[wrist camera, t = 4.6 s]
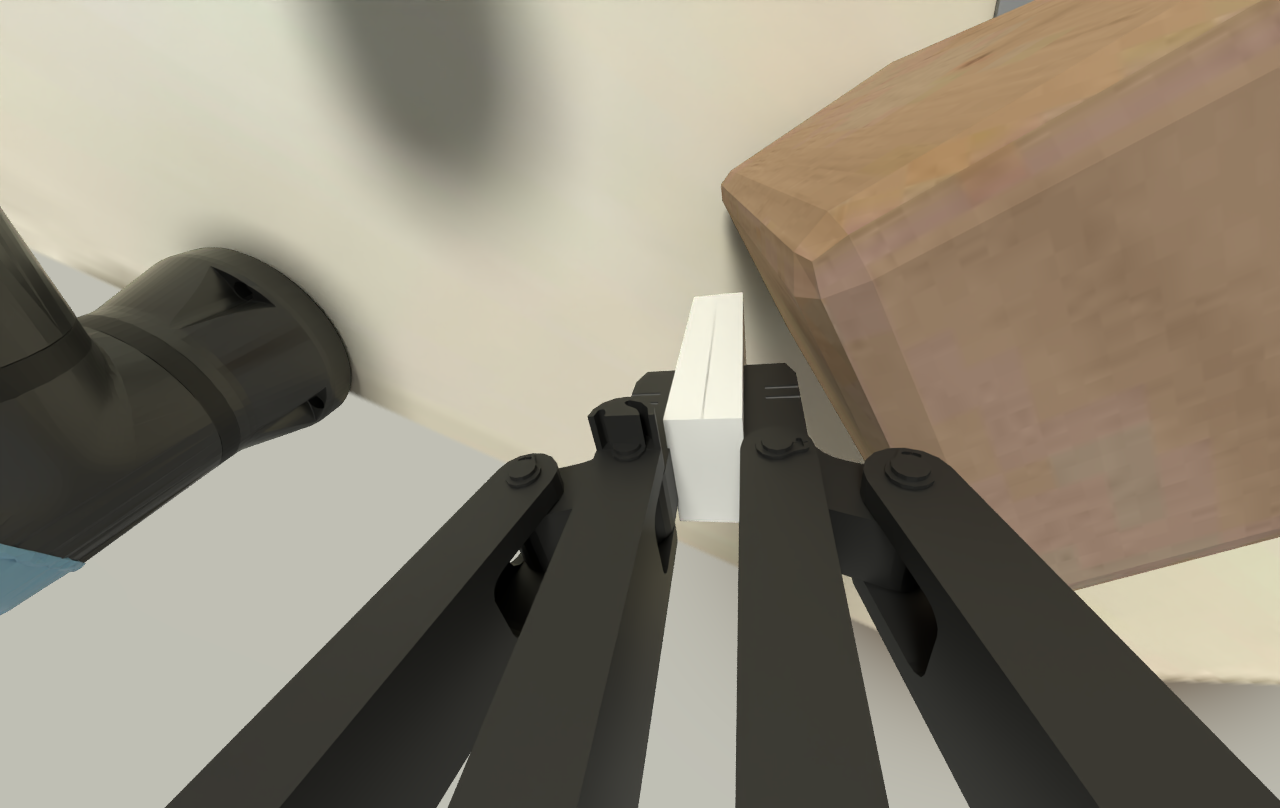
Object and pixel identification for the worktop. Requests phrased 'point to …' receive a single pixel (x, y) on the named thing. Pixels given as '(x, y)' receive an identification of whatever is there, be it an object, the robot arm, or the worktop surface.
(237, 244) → the worktop surface
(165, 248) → the worktop surface
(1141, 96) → the wooden block
